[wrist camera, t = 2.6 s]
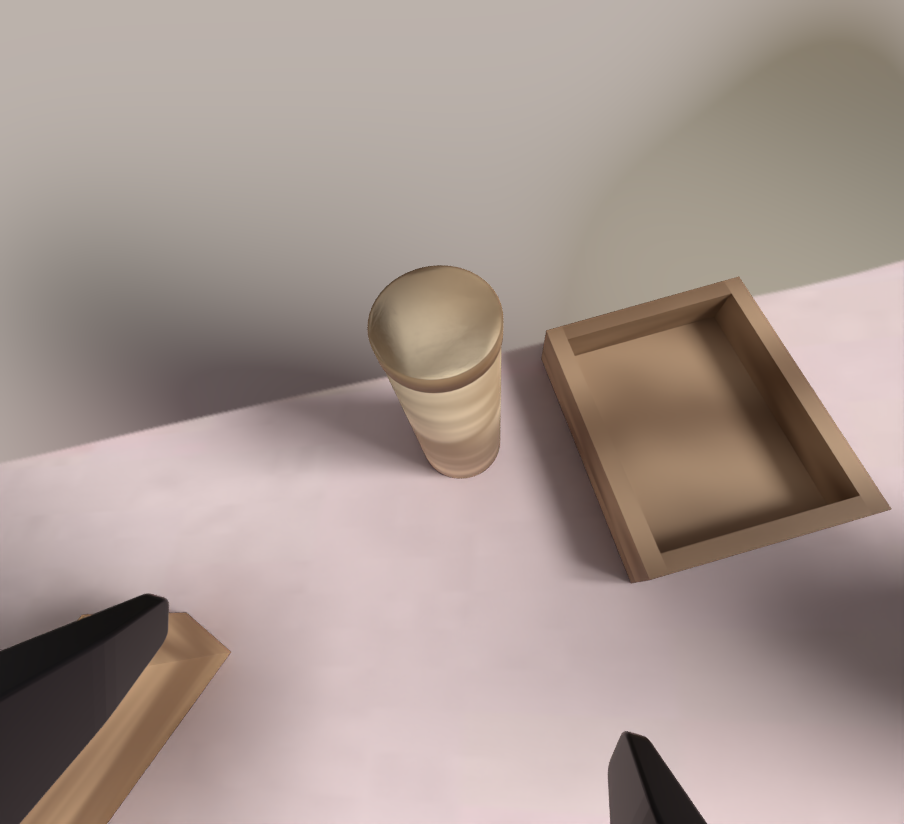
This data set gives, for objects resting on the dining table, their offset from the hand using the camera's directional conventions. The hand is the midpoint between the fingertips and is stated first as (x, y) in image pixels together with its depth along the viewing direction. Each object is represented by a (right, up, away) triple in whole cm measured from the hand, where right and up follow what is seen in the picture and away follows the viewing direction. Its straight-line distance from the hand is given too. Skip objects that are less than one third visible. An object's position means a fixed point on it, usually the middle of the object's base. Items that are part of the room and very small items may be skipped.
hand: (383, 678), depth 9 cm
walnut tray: (+13, +4, +14) cm, 20 cm away
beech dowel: (+2, +4, +15) cm, 16 cm away
